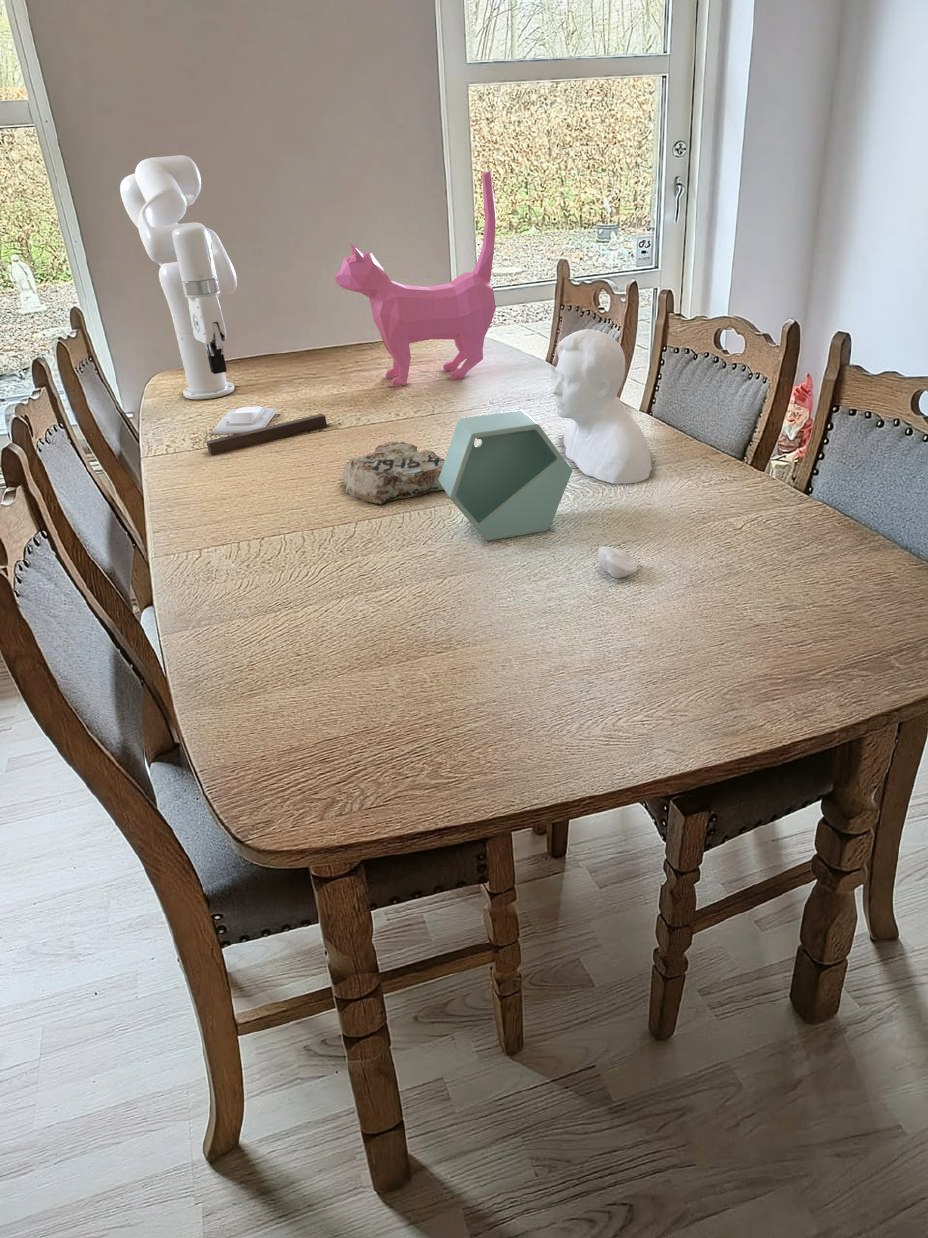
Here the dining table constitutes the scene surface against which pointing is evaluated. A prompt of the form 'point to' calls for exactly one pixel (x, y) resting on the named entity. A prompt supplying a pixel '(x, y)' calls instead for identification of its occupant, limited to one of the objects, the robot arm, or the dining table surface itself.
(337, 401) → the dining table surface
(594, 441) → the bust
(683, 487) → the dining table surface
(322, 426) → the back rail
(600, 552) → the dumpling
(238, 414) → the light switch
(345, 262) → the cat
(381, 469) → the stone
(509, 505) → the planter
